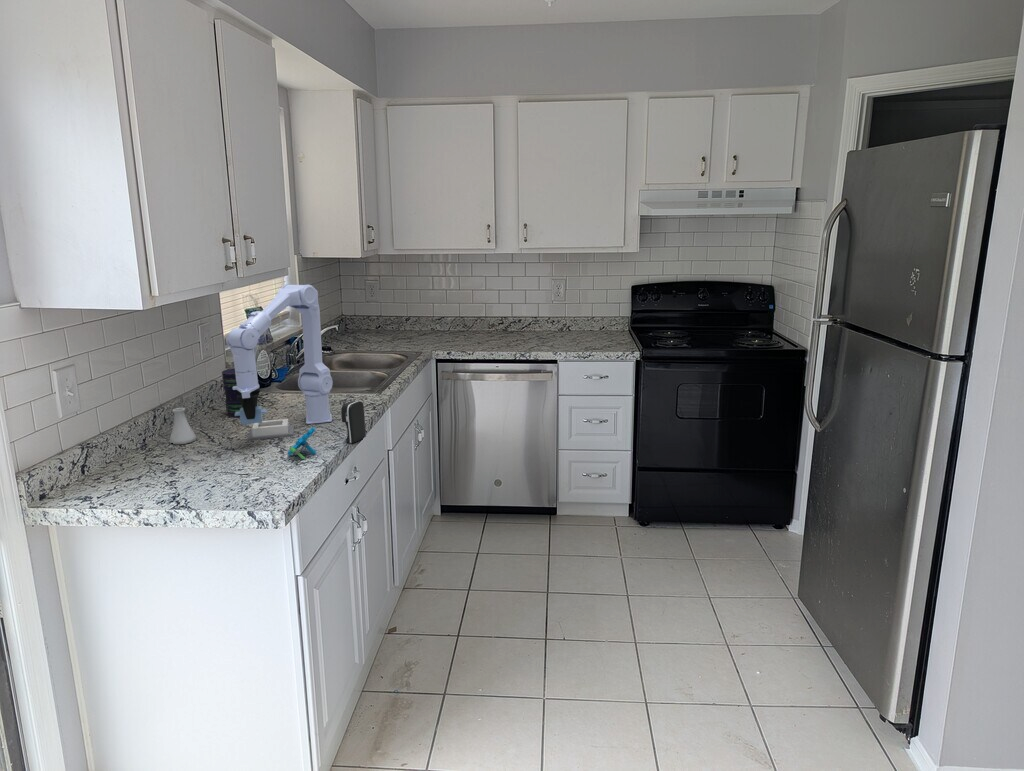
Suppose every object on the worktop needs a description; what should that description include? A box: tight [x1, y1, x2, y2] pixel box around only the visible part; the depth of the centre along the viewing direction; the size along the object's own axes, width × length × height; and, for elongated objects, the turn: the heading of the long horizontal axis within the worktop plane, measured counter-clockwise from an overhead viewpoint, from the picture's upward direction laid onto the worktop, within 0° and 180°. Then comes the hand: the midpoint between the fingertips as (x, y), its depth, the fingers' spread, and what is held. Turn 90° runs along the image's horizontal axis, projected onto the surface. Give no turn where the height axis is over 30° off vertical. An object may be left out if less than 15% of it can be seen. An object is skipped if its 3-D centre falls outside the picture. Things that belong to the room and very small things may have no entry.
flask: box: [168, 407, 198, 445], centre depth 206 cm, size 7×7×10 cm
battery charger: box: [340, 400, 367, 444], centre depth 202 cm, size 7×4×11 cm, turn 157°
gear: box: [287, 426, 317, 460], centre depth 191 cm, size 11×6×10 cm
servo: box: [235, 405, 268, 425], centre depth 200 cm, size 4×8×4 cm, turn 105°
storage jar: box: [221, 367, 243, 419], centre depth 235 cm, size 10×10×15 cm
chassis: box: [246, 418, 295, 441], centre depth 212 cm, size 10×13×3 cm
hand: (251, 416), depth 200 cm, fingers closed on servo, 4 cm apart
